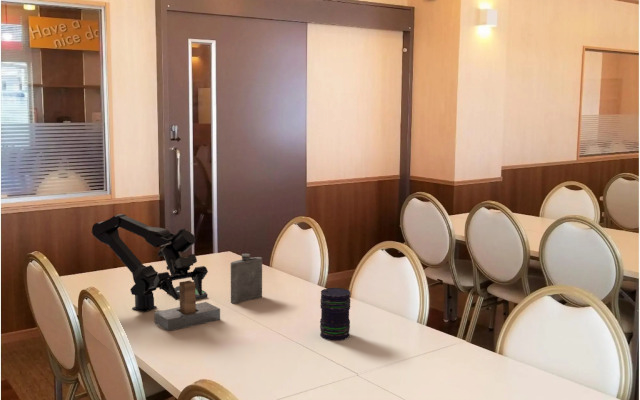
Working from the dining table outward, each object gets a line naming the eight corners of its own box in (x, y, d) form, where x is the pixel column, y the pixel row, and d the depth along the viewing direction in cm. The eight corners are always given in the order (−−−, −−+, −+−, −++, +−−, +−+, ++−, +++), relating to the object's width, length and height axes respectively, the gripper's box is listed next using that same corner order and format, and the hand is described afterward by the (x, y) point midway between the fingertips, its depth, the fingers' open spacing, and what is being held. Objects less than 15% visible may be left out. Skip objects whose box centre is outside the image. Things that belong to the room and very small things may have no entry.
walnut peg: (180, 321, 236) (179, 282, 234) (190, 318, 238) (189, 280, 236) (185, 324, 233) (184, 284, 231) (195, 321, 235) (195, 282, 233)
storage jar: (353, 332, 226) (354, 289, 224) (344, 342, 217) (345, 297, 215) (325, 329, 230) (326, 286, 227) (315, 338, 220) (316, 294, 218)
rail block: (154, 323, 233) (154, 312, 232) (206, 312, 245) (205, 301, 245) (168, 331, 225) (167, 319, 225) (220, 319, 238) (220, 308, 237)
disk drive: (166, 295, 268) (184, 303, 257) (165, 288, 268) (184, 296, 257) (189, 290, 275) (208, 298, 264) (189, 284, 275) (208, 291, 264)
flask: (228, 302, 258) (227, 256, 256) (257, 295, 268) (257, 250, 265) (233, 304, 256) (233, 257, 253) (263, 297, 265) (263, 252, 263)
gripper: (156, 250, 229) (171, 289, 222) (205, 243, 240) (221, 280, 234) (146, 268, 236) (161, 306, 229) (194, 261, 248) (210, 297, 241)
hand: (189, 297), depth 233 cm, fingers open, 9 cm apart
